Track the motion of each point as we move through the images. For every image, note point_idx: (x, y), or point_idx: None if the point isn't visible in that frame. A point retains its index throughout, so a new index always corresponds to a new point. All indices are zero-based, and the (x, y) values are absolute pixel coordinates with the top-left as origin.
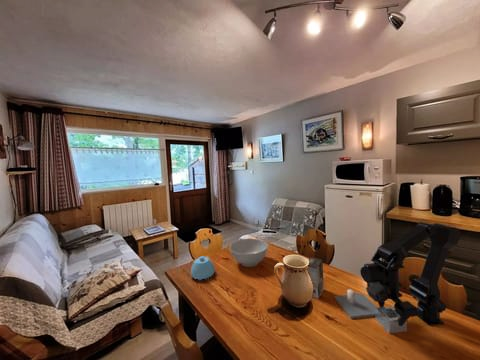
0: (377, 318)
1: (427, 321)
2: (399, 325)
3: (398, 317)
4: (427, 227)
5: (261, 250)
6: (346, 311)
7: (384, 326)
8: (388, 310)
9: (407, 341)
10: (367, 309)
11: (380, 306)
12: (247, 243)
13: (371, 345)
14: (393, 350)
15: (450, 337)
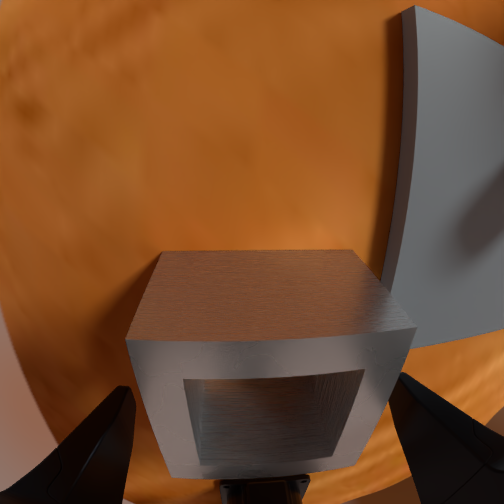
0: (332, 264)
1: (238, 488)
2: (116, 389)
3: (68, 467)
4: None
5: None
6: (474, 32)
7: (222, 261)
8: (332, 423)
9: (88, 328)
10: (453, 251)
11: (404, 389)
12: None
13: (63, 3)
14: (6, 160)
15: (150, 484)
